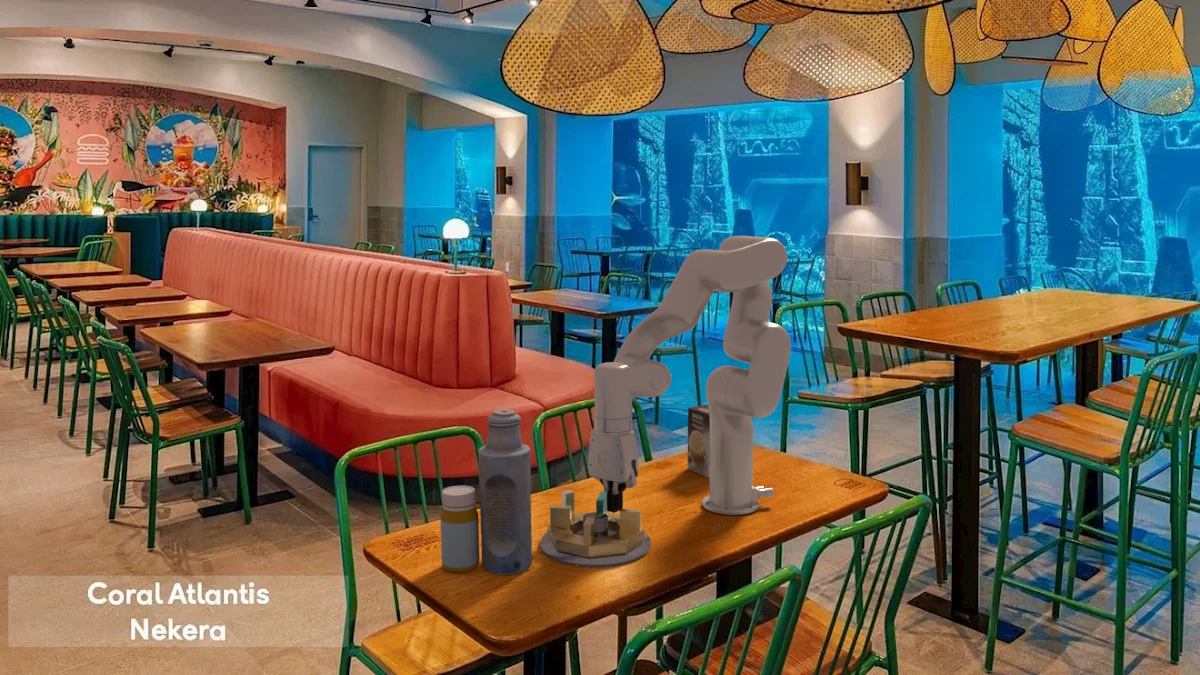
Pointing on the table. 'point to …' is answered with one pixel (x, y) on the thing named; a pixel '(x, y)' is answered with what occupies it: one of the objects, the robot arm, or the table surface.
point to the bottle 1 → (459, 529)
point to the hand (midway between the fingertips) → (614, 510)
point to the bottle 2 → (505, 496)
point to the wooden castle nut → (588, 545)
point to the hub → (600, 531)
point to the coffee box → (699, 440)
